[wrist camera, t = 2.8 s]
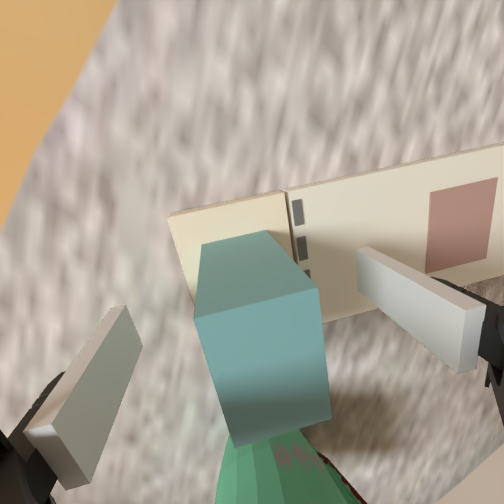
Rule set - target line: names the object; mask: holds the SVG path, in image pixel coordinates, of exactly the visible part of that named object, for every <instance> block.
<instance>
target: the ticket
mask: <svg viewBox="0 0 504 504" xmlns="http://www.w3.org/2000/svg"><path fill="white" fill-rule="evenodd" d="M282 192H284V195H285V202H286V209H287V216H288V223H289V231H290V238H291V245H292V252H293V259H294V262H295V263H296V264H297V265H298V266H299V267H300V268H301V269H302V270H303V271H304V272H305V274H306V275H307V276H308V277H309V278H310V279H311V280H312V281H313V282H314V283H315V284H316V286H317V287H318V291H319V300H320V309H321V319H322V324H323V323H326V322H330V321H334V320H338V319H341V318H345V317H349V316H353V315H356V314H360V313H364V312H368V311H371V310H375V309H379V308H378V307H376V306H375V305H374V304H373V303H372V302H370V301H369V300H368V299H367V298H366V297H364V296H363V295H362V294H361V293H360V292H358V287H357V266H356V249H360V248H364V247H370V248H372V249H374V250H376V251H378V252H380V253H382V254H384V255H386V256H388V257H390V258H392V259H394V260H396V261H398V262H400V263H402V264H404V265H406V266H409V267H411V268H413V269H415V270H417V271H419V272H421V273H423V274H425V275H427V276H429V277H436V278H440V279H444V280H447V281H449V282H451V283H453V284H455V285H457V287H461V286H465V285H469V284H473V283H476V282H480V281H484V280H488V279H491V278H495V277H499V276H503V275H504V142H502V143H497V144H493V145H488V146H483V147H479V148H474V149H469V150H464V151H460V152H455V153H450V154H446V155H441V156H436V157H432V158H427V159H422V160H418V161H413V162H408V163H403V164H399V165H394V166H389V167H385V168H380V169H375V170H371V171H366V172H361V173H357V174H352V175H347V176H342V177H338V178H333V179H328V180H324V181H319V182H314V183H310V184H305V185H300V186H296V187H291V188H286V189H282Z"/></svg>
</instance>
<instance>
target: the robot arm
mask: <svg viewBox="0 0 504 504" xmlns="http://www.w3.org/2000/svg"><path fill="white" fill-rule="evenodd" d="M356 266H357V287H358V292H360V293H361V294H362V295H363V296H364V297H366V298H367V299H368V300H369V301H370V302H372V303H373V304H374V305H375V306H376V307H378V308H379V309H380V310H381V311H382V312H384V313H385V314H386V315H387V316H388V317H390V318H391V319H392V320H393V321H394V322H396V323H397V324H398V325H399V326H400V327H402V328H403V329H404V330H405V331H406V332H408V333H409V334H410V335H411V336H412V337H414V338H415V339H416V340H417V341H418V342H420V343H421V344H422V345H423V346H424V347H426V348H427V349H428V350H429V351H430V352H432V353H433V354H434V355H435V356H436V357H438V358H439V359H440V360H441V361H442V362H444V363H445V364H446V365H447V366H448V367H450V368H451V369H452V370H453V371H454V372H456V373H457V374H460V373H463V372H467V371H470V370H473V369H476V368H477V361H478V355H479V356H481V357H482V358H483V359H485V360H486V361H488V362H489V363H488V368H487V374H486V380H485V387H489V384H490V382H491V384H492V387H493V391H494V394H495V398H496V401H497V405H498V408H499V412H500V415H501V418H502V422H503V425H504V306H499V305H497V304H495V303H493V302H491V301H489V300H487V299H485V298H483V297H480V296H478V295H476V294H474V293H472V292H470V291H467V290H466V289H464V288H462V287H457V285H455V284H453V283H451V282H449V281H447V280H444V279H440V278H436V277H429V276H427V275H425V274H423V273H421V272H419V271H417V270H415V269H413V268H411V267H409V266H406V265H404V264H402V263H400V262H398V261H396V260H394V259H392V258H390V257H388V256H386V255H384V254H382V253H380V252H378V251H376V250H374V249H372V248H370V247H364V248H360V249H356ZM142 347H143V345H142V343H141V340H140V338H139V335H138V333H137V331H136V328H135V326H134V323H133V321H132V319H131V316H130V314H129V311H128V309H127V307H126V305H122V306H118V307H114V308H111V309H110V310H109V312H108V313H107V315H106V316H105V317H104V319H103V320H102V322H101V323H100V324H99V326H98V327H97V329H96V330H95V331H94V333H93V334H92V336H91V337H90V338H89V340H88V341H87V343H86V344H85V345H84V347H83V348H82V350H81V351H80V352H79V354H78V355H77V357H76V358H75V359H74V361H73V362H72V364H71V365H70V366H69V368H68V369H67V371H66V372H62V373H60V374H59V375H58V376H57V377H56V378H55V379H54V380H52V381H51V382H50V383H49V384H48V385H47V387H46V388H45V389H44V391H43V392H42V393H41V395H40V396H39V398H38V399H37V400H36V401H35V403H34V404H33V405H32V408H31V409H29V411H28V412H27V413H26V415H25V416H24V417H23V418H22V420H21V421H20V422H19V424H18V425H17V426H16V428H15V429H14V430H13V432H12V433H11V434H10V436H9V437H8V438H6V436H5V435H4V434H3V432H2V431H1V430H0V504H56V502H55V500H54V498H53V497H52V496H51V494H50V493H51V491H52V489H53V487H54V485H55V483H56V481H57V479H58V481H59V482H60V483H61V485H62V486H63V488H64V489H65V490H69V489H72V488H76V487H79V486H82V485H86V484H89V483H90V482H91V480H92V477H93V475H94V472H95V469H96V467H97V464H98V462H99V459H100V456H101V454H102V451H103V449H104V446H105V443H106V441H107V438H108V435H109V433H110V430H111V428H112V425H113V422H114V420H115V417H116V415H117V412H118V409H119V407H120V404H121V402H122V399H123V396H124V394H125V391H126V388H127V386H128V383H129V381H130V378H131V375H132V373H133V370H134V368H135V365H136V362H137V360H138V357H139V355H140V352H141V349H142Z"/></svg>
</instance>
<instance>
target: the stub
mask: <svg viewBox="0 0 504 504" xmlns="http://www.w3.org/2000/svg"><path fill="white" fill-rule="evenodd" d="M167 220H168V223H169V226H170V230H171V233H172V236H173V239H174V242H175V246H176V249H177V252H178V255H179V259H180V262H181V265H182V268H183V272H184V275H185V278H186V281H187V284H188V288H189V291H190V294H191V297H192V301H193V304H194V307H195V309H194V318H193V319H194V322H195V325H196V329H197V332H198V335H199V338H200V341H201V344H202V347H203V351H204V354H205V357H206V360H207V363H208V366H209V370H210V373H211V376H212V379H213V382H214V385H215V388H216V392H217V395H218V398H219V401H220V404H221V407H222V411H223V414H224V417H225V420H226V423H227V426H228V429H229V433H230V436H231V439H232V442H233V445H234V448H238V447H242V446H245V445H248V444H252V443H255V442H258V441H261V440H265V439H268V438H271V437H275V436H278V435H281V434H284V433H288V432H291V431H294V430H298V429H301V428H304V427H307V426H311V425H314V424H317V423H321V422H324V421H327V420H330V419H332V410H331V401H330V392H329V383H328V374H327V364H326V355H325V346H324V337H323V328H322V319H321V309H320V300H319V291H318V287H317V286H316V284H315V283H314V282H313V281H312V280H311V279H310V278H309V277H308V276H307V275H306V274H305V272H304V271H303V270H302V269H301V268H300V267H299V266H298V265H297V264H296V263H295V262H294V259H293V252H292V245H291V238H290V231H289V223H288V216H287V209H286V202H285V195H284V192H281V191H273V192H268V193H264V194H259V195H254V196H250V197H245V198H240V199H235V200H231V201H226V202H221V203H217V204H212V205H207V206H203V207H198V208H193V209H189V210H184V211H179V212H174V213H171V214H170V215H169V216H168V217H167Z"/></svg>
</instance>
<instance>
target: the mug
mask: <svg viewBox="0 0 504 504" xmlns="http://www.w3.org/2000/svg"><path fill="white" fill-rule="evenodd" d="M215 504H367V503H366V502H365V501H364V499H363V498H362V497H361V496H360V495H359V494H358V493H357V491H356V490H355V489H354V488H353V487H352V486H351V484H350V483H349V482H348V481H347V480H346V479H345V478H344V476H343V475H342V474H341V473H340V472H339V471H338V470H337V468H336V467H335V466H334V465H333V464H332V463H331V462H330V460H329V459H328V458H326V457H325V456H324V455H322V454H321V453H320V452H318V451H317V450H316V449H314V448H313V447H312V446H310V444H309V443H308V441H307V440H306V438H305V437H304V436H303V434H302V433H301V432H300V430H299V429H298V430H294V431H291V432H288V433H284V434H281V435H278V436H275V437H271V438H268V439H265V440H261V441H258V442H255V443H252V444H248V445H245V446H242V447H238V448H234V445H233V442H232V439H231V436H230V434H229V438H228V441H227V444H226V448H225V452H224V457H223V461H222V465H221V470H220V474H219V479H218V484H217V492H216V500H215Z"/></svg>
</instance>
